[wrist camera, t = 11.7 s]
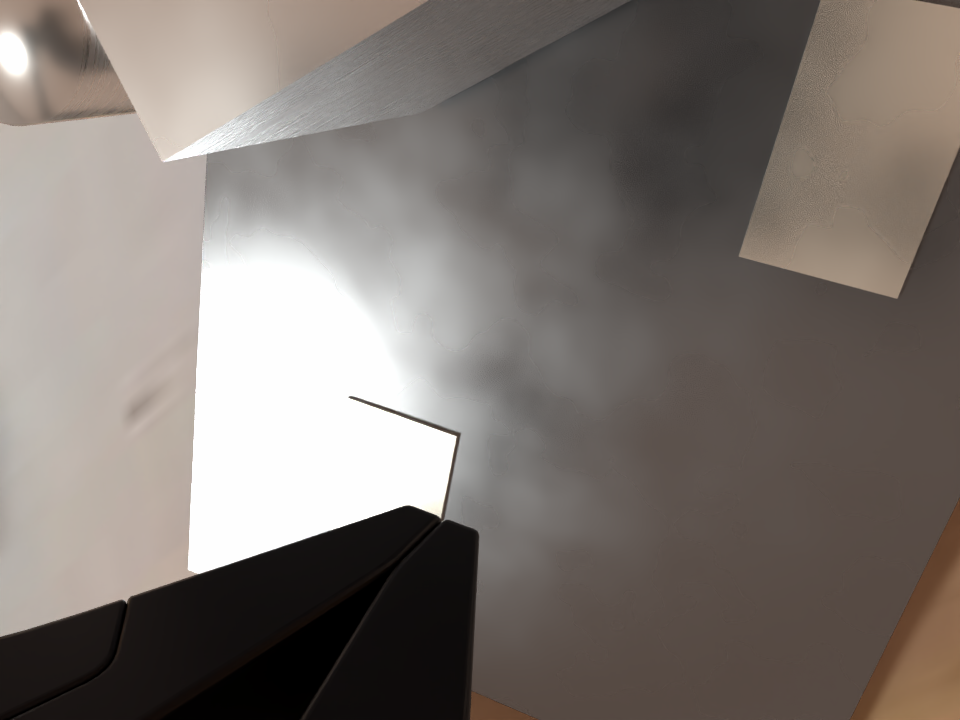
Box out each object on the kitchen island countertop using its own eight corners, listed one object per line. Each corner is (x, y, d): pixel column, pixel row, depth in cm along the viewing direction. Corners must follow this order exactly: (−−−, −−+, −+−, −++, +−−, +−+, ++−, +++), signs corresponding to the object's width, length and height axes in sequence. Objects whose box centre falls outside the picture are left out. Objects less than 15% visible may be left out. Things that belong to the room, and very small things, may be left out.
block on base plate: (796, 798, 22) (786, 1307, 13) (182, 540, 27) (-129, 788, 18) (1205, -49, 14) (1913, -206, 5) (212, -204, 18) (-336, -426, 10)
